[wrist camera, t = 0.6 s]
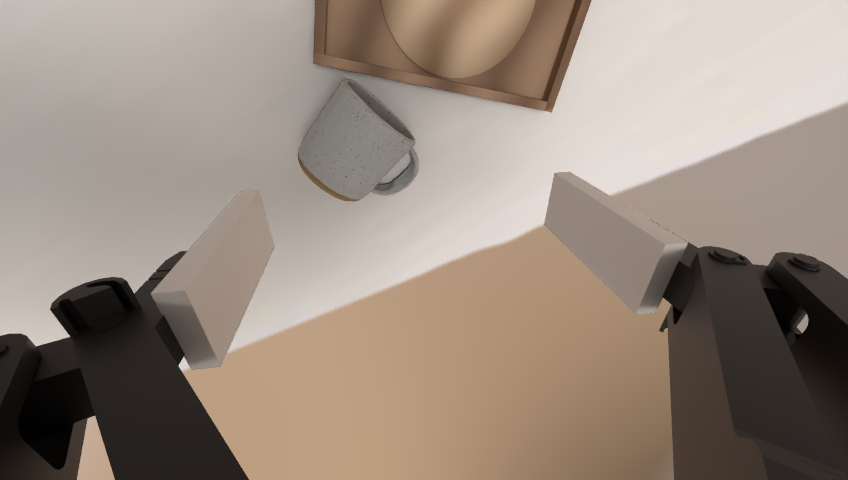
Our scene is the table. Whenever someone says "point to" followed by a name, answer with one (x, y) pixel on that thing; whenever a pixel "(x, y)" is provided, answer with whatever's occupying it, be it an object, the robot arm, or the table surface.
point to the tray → (455, 44)
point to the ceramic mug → (356, 146)
